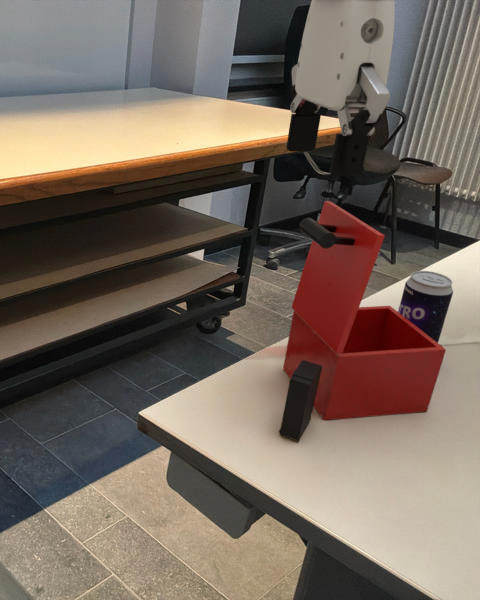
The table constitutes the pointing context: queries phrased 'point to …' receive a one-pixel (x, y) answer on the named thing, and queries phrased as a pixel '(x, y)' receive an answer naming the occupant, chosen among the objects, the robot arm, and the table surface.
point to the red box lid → (335, 272)
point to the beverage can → (427, 301)
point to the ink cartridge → (300, 400)
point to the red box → (369, 365)
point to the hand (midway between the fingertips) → (321, 161)
